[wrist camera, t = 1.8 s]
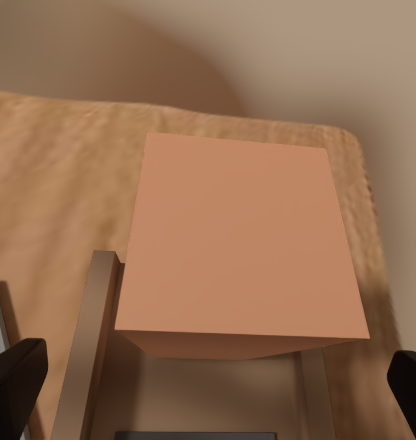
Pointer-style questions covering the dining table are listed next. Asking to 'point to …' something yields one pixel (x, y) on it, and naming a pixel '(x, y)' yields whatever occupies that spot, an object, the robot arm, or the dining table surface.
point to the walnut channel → (180, 384)
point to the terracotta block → (236, 252)
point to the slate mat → (0, 345)
